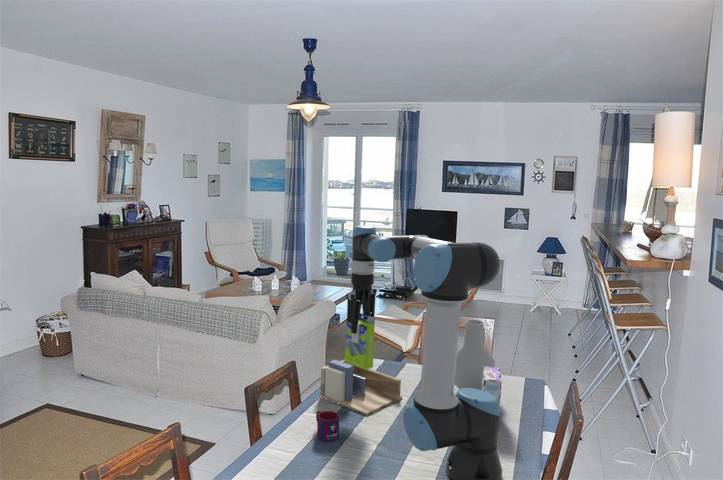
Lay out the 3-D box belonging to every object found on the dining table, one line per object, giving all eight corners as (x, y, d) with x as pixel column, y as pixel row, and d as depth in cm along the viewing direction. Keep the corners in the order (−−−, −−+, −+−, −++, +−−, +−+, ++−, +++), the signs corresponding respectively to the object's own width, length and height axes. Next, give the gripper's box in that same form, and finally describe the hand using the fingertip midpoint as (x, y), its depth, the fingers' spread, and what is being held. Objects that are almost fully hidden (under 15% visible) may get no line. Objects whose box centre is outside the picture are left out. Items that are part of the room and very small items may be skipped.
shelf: (367, 415, 187) (368, 384, 185) (320, 396, 201) (321, 367, 199) (402, 398, 202) (403, 369, 201) (356, 382, 216) (357, 354, 215)
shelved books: (342, 402, 194) (343, 369, 193) (324, 395, 200) (325, 363, 198) (352, 398, 198) (353, 365, 197) (333, 391, 204) (334, 359, 202)
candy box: (498, 429, 180) (502, 381, 178) (480, 427, 181) (483, 379, 179) (497, 412, 194) (500, 366, 192) (479, 410, 195) (482, 364, 193)
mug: (322, 443, 167) (323, 422, 166) (309, 429, 176) (309, 408, 175) (342, 439, 170) (343, 418, 169) (328, 425, 179) (329, 405, 178)
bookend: (355, 398, 198) (355, 382, 197) (334, 390, 204) (335, 375, 203) (365, 394, 202) (365, 378, 201) (344, 386, 208) (345, 371, 208)
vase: (445, 400, 202) (449, 325, 198) (449, 383, 218) (453, 314, 214) (492, 406, 198) (497, 330, 194) (493, 389, 214) (498, 318, 210)
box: (344, 361, 191) (345, 312, 189) (352, 359, 194) (354, 310, 191) (365, 370, 183) (367, 320, 181) (374, 367, 186) (376, 317, 184)
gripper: (354, 277, 175) (352, 349, 178) (387, 270, 189) (384, 337, 192) (336, 274, 180) (334, 343, 183) (370, 267, 193) (367, 332, 196)
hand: (360, 340), depth 187 cm, fingers closed on box, 4 cm apart
